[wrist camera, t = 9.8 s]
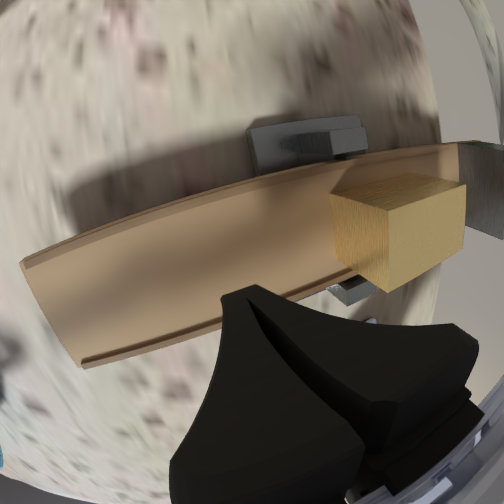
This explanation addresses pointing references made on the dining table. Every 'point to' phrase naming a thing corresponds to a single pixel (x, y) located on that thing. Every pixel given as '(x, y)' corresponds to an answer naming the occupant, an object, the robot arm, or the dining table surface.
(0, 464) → the teapot
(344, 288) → the pivot stand
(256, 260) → the beam
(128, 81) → the dining table surface
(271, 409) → the robot arm
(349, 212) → the block
